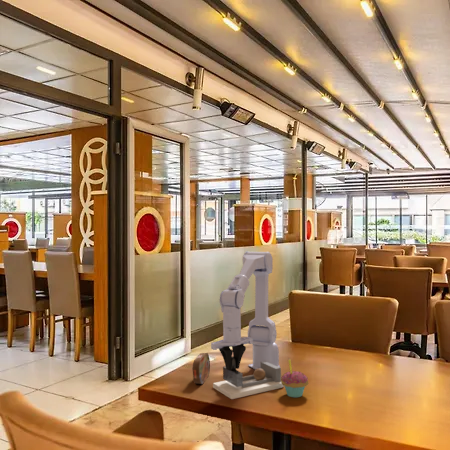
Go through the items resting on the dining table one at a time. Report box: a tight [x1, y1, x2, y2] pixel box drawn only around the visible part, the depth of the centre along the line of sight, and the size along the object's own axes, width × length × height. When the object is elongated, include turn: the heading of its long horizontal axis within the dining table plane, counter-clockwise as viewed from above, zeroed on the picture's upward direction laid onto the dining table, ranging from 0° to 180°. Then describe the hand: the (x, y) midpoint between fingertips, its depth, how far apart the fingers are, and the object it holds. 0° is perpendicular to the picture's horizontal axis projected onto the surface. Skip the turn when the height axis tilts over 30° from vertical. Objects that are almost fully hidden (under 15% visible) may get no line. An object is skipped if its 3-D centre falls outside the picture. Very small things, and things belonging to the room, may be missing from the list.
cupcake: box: [281, 358, 309, 398], centre depth 145 cm, size 9×8×12 cm
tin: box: [192, 352, 211, 385], centre depth 160 cm, size 15×3×8 cm, turn 168°
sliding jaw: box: [222, 355, 244, 387], centre depth 149 cm, size 2×9×8 cm, turn 30°
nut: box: [253, 368, 265, 380], centre depth 154 cm, size 4×4×4 cm
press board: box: [212, 361, 285, 400], centre depth 152 cm, size 20×12×6 cm, turn 120°
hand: (232, 368), depth 149 cm, fingers closed on sliding jaw, 2 cm apart
